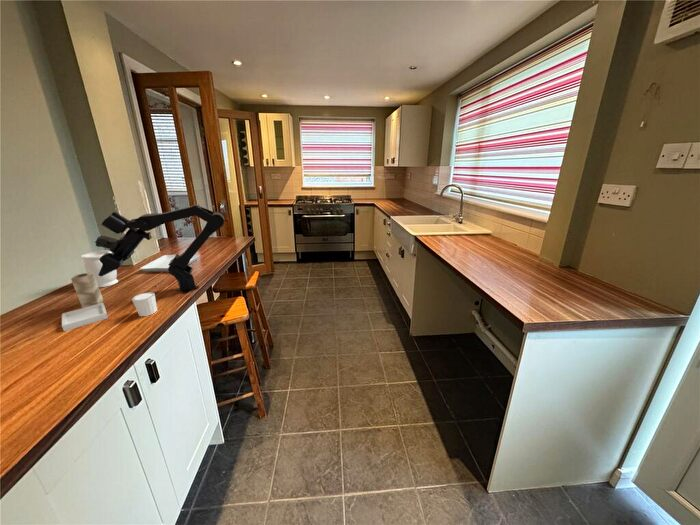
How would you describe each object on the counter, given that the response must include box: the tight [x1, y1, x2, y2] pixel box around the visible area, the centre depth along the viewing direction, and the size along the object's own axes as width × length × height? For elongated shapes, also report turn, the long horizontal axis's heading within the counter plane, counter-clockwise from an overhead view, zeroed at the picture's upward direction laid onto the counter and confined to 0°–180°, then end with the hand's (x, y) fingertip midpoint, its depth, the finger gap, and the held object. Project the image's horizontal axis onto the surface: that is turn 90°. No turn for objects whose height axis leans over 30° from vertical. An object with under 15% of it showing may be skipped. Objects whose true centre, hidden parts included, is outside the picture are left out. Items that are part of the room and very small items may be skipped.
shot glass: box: [131, 292, 158, 318], centre depth 103 cm, size 7×7×7 cm
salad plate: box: [139, 254, 201, 273], centre depth 151 cm, size 21×21×3 cm
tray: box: [61, 302, 109, 332], centre depth 101 cm, size 12×12×2 cm
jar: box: [80, 249, 119, 288], centre depth 128 cm, size 11×10×15 cm
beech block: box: [71, 272, 104, 308], centre depth 110 cm, size 5×5×13 cm
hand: (104, 271), depth 110 cm, fingers open, 9 cm apart
